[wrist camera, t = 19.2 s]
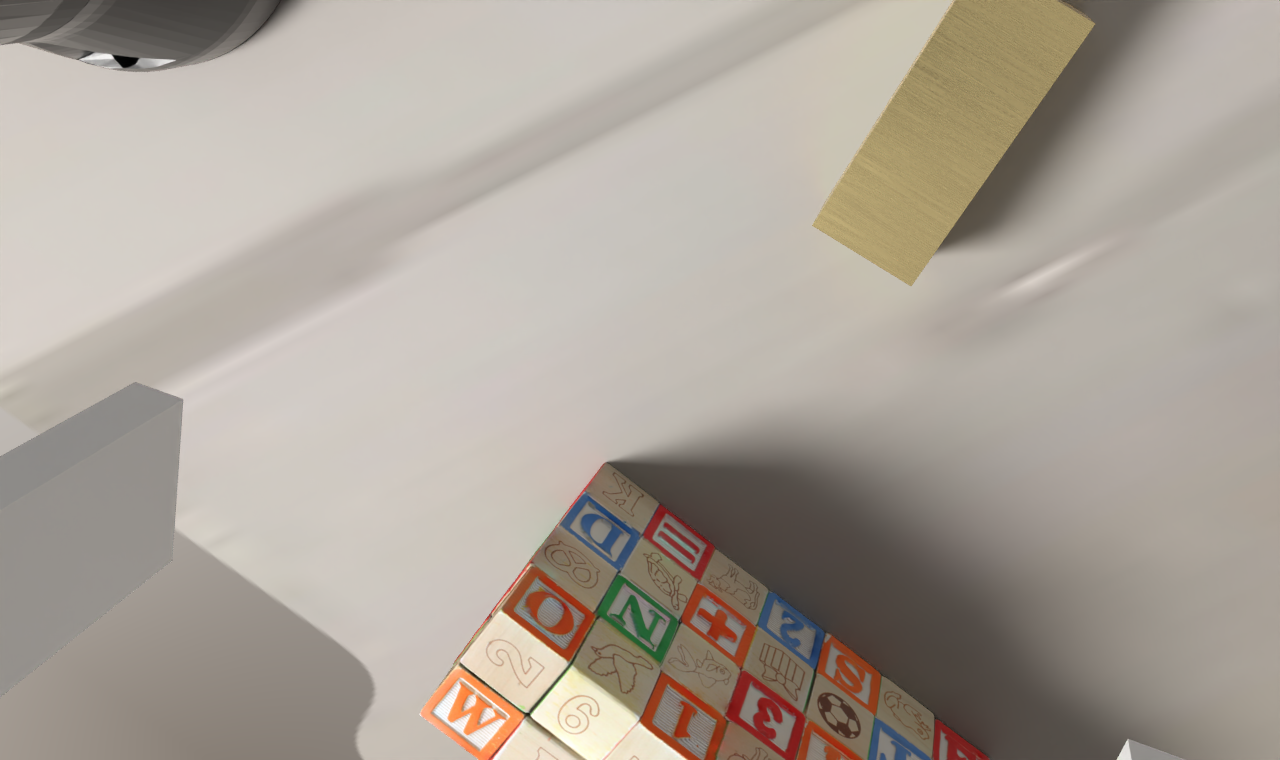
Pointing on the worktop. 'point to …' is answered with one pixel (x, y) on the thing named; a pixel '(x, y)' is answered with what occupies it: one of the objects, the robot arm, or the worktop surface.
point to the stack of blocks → (665, 658)
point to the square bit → (949, 127)
